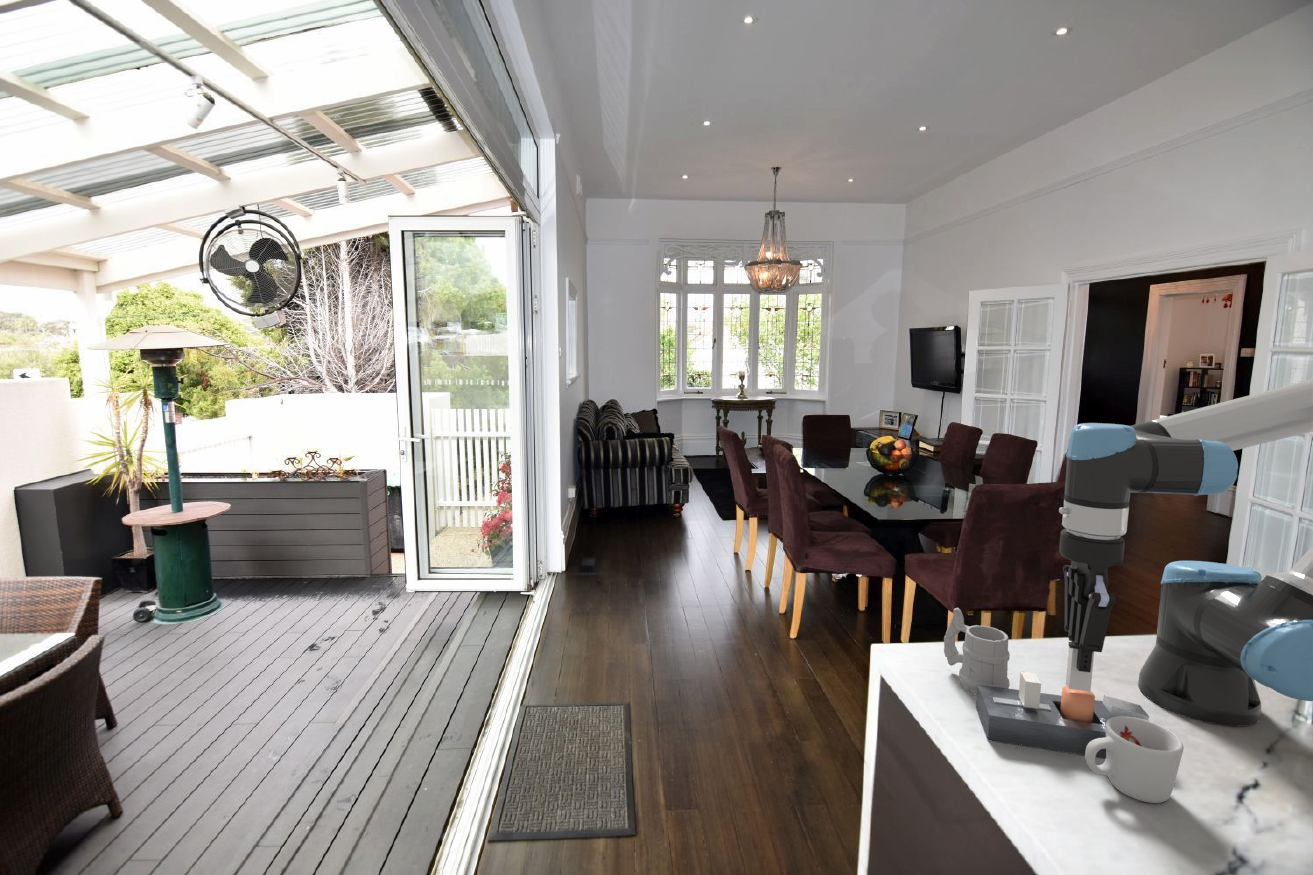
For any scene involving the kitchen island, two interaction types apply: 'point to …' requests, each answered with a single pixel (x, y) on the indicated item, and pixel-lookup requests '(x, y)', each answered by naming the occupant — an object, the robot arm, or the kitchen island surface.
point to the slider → (1029, 690)
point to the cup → (1138, 758)
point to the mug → (978, 654)
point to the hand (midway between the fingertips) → (1077, 687)
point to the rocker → (1124, 708)
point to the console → (1037, 722)
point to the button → (1077, 705)
